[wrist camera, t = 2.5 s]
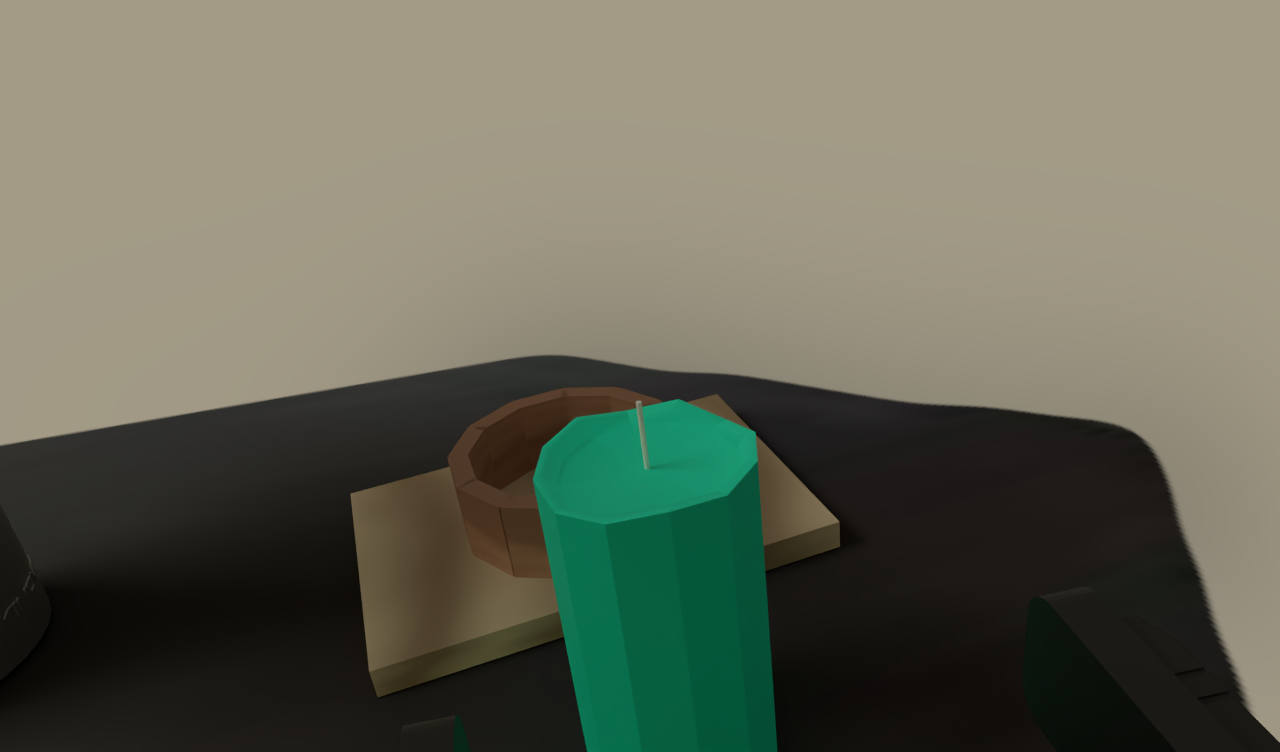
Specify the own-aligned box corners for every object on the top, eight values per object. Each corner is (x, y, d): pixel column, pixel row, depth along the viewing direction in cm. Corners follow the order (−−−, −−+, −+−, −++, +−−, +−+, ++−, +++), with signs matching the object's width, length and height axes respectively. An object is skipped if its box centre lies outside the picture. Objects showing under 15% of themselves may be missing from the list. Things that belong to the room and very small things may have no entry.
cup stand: (377, 697, 32) (344, 598, 30) (357, 515, 42) (331, 432, 40) (840, 546, 36) (837, 451, 34) (718, 415, 46) (711, 336, 44)
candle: (807, 793, 26) (790, 436, 21) (603, 844, 26) (531, 488, 20) (747, 649, 32) (721, 334, 26) (576, 688, 31) (513, 373, 26)
